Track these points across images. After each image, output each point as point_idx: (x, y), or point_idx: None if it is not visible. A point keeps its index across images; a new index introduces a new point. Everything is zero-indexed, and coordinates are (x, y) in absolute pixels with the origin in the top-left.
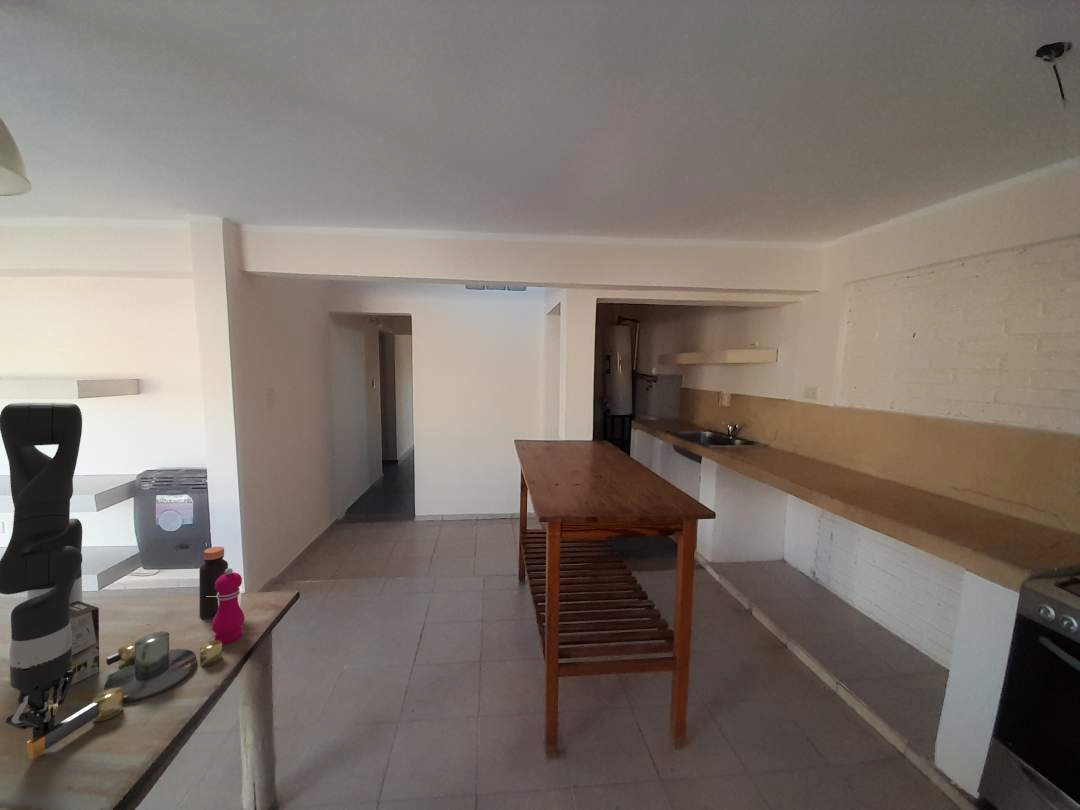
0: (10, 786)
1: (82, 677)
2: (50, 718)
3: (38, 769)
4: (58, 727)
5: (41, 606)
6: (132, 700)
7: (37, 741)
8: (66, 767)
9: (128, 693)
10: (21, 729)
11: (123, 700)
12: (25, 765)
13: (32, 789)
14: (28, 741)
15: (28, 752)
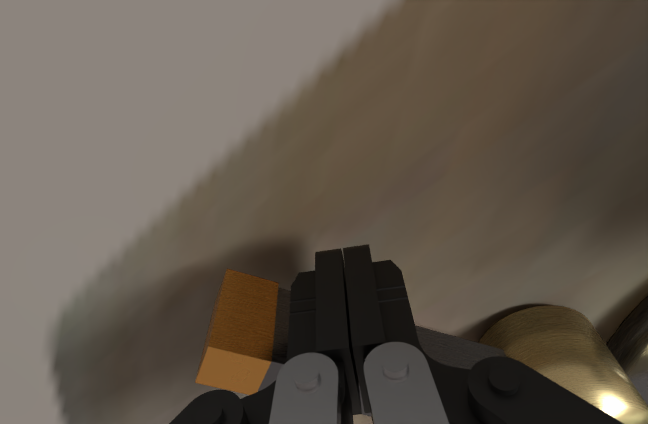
0: (107, 272)
1: None
2: (359, 411)
3: (202, 306)
4: None
5: None
6: None
7: (218, 383)
8: (210, 389)
9: (643, 393)
10: (186, 409)
11: None
12: (227, 235)
13: (103, 359)
14: (209, 353)
15: (218, 298)
